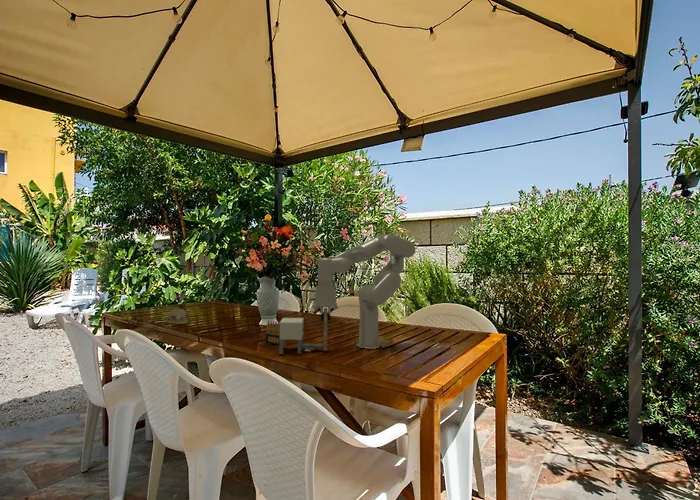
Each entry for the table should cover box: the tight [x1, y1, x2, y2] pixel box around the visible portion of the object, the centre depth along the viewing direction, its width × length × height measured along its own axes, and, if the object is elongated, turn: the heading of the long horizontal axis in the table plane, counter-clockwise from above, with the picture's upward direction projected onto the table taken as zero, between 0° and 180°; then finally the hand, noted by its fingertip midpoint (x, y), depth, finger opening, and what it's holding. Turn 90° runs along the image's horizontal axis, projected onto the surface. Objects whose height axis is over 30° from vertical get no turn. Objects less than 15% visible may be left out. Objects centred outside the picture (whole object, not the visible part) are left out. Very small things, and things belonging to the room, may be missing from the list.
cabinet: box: [278, 317, 305, 355], centre depth 181 cm, size 11×13×15 cm
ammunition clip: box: [265, 320, 280, 346], centre depth 194 cm, size 11×2×12 cm, turn 59°
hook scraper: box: [301, 307, 328, 351], centre depth 181 cm, size 13×5×20 cm, turn 93°
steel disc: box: [302, 348, 314, 351], centre depth 181 cm, size 5×5×2 cm
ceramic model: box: [165, 307, 189, 325], centre depth 251 cm, size 14×11×10 cm
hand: (325, 321), depth 182 cm, fingers closed on hook scraper, 1 cm apart
